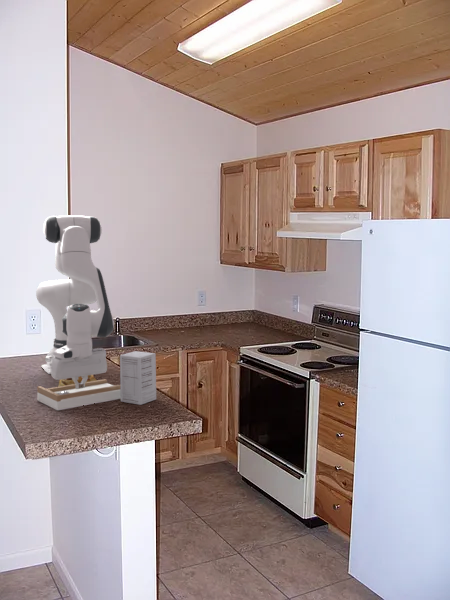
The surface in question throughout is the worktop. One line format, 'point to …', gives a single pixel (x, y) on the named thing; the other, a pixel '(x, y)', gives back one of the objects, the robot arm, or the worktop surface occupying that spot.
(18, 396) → the worktop surface
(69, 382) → the pastry
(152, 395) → the supplement box
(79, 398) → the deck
